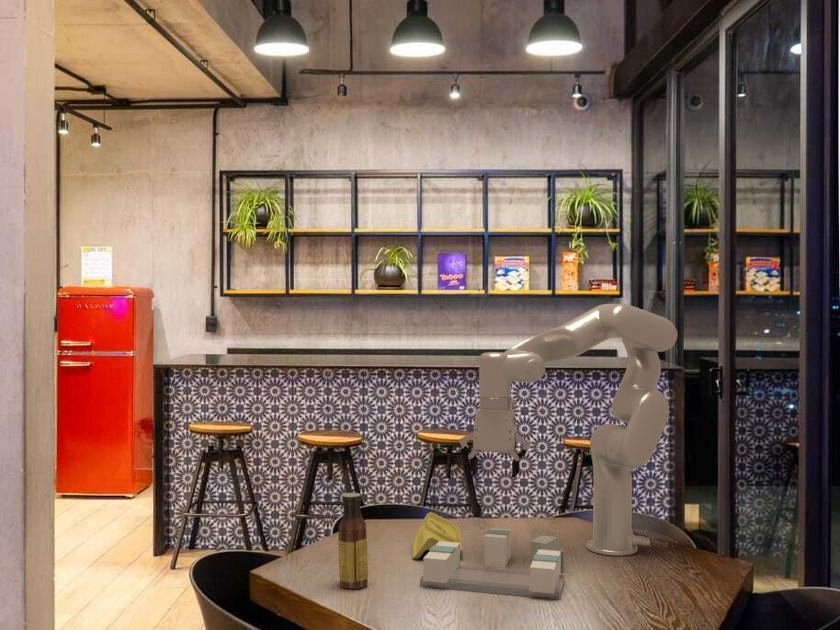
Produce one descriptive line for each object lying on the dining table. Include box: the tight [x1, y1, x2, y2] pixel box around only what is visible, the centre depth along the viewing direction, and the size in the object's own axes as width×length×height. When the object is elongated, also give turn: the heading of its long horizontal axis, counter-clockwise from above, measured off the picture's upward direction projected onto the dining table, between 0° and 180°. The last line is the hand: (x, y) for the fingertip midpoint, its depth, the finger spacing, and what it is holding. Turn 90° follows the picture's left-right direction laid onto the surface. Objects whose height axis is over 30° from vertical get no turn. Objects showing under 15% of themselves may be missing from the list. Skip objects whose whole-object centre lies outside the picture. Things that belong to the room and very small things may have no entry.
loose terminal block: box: [530, 534, 558, 558], centre depth 206 cm, size 4×7×4 cm, turn 149°
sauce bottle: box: [338, 492, 369, 590], centre depth 181 cm, size 7×6×20 cm
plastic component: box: [411, 512, 463, 560], centre depth 209 cm, size 20×7×10 cm
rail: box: [419, 565, 566, 601], centre depth 183 cm, size 30×12×2 cm, turn 75°
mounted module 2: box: [529, 549, 562, 594], centre depth 180 cm, size 5×14×5 cm, turn 165°
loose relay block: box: [540, 544, 564, 574], centre depth 194 cm, size 5×6×5 cm
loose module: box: [483, 527, 512, 568], centre depth 200 cm, size 5×8×7 cm, turn 165°
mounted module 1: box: [422, 541, 461, 583], centre depth 186 cm, size 5×14×5 cm, turn 165°
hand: (494, 475), depth 199 cm, fingers open, 9 cm apart
